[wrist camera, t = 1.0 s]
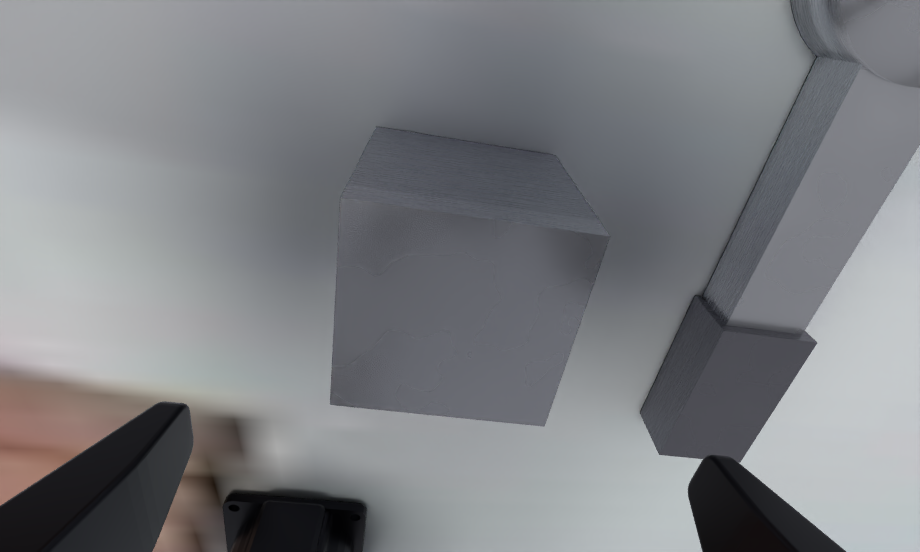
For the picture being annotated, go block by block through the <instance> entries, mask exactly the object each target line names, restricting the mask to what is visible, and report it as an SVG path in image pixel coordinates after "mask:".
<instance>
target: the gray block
mask: <svg viewBox="0 0 920 552" xmlns="http://www.w3.org/2000/svg"><path fill="white" fill-rule="evenodd" d="M609 238H610V236H609V234H608V233H607V231H606V230H605V228H604V227H603V225H602V224H601V222H600V221H599V219H598V218H597V216H596V215H595V213H594V212H593V210H592V209H591V207H590V206H589V205H588V203H587V202H586V200H585V199H584V197H583V196H582V194H581V193H580V191H579V190H578V188H577V187H576V185H575V184H574V182H573V181H572V179H571V178H570V176H569V175H568V173H567V172H566V171H565V169H564V168H563V166H562V165H561V163H560V162H559V160H558V159H557V157H556V156H555V155H551V154H545V153H539V152H533V151H526V150H520V149H514V148H508V147H501V146H495V145H489V144H483V143H476V142H470V141H464V140H457V139H451V138H445V137H439V136H432V135H426V134H420V133H414V132H407V131H401V130H395V129H389V128H382V127H376V128H375V130H374V132H373V134H372V136H371V138H370V140H369V142H368V144H367V146H366V148H365V150H364V152H363V154H362V156H361V158H360V160H359V162H358V164H357V166H356V168H355V170H354V172H353V174H352V176H351V178H350V180H349V182H348V184H347V186H346V187H345V189H344V191H343V193H342V195H341V197H340V215H339V235H338V255H337V275H336V295H335V314H334V334H333V354H332V374H331V394H330V405H337V406H347V407H357V408H367V409H377V410H387V411H397V412H407V413H417V414H427V415H437V416H446V417H456V418H466V419H476V420H486V421H496V422H506V423H516V424H526V425H536V426H545V423H546V420H547V418H548V415H549V412H550V409H551V406H552V403H553V400H554V397H555V394H556V392H557V389H558V386H559V383H560V380H561V377H562V374H563V371H564V368H565V366H566V363H567V360H568V357H569V354H570V351H571V348H572V345H573V342H574V339H575V337H576V334H577V331H578V328H579V325H580V322H581V319H582V316H583V313H584V311H585V308H586V305H587V302H588V299H589V296H590V293H591V290H592V287H593V284H594V282H595V279H596V276H597V273H598V270H599V267H600V264H601V261H602V258H603V256H604V253H605V250H606V247H607V244H608V241H609Z"/></svg>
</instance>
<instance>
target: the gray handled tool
mask: <svg viewBox="0 0 920 552" xmlns="http://www.w3.org/2000/svg"><path fill="white" fill-rule="evenodd" d="M791 5H792V10H793V14H794V18H795V22H796V24H797V27H798V29H799V31H800V34H801V36H802V38H803V39H804V41H805V42H806V44H807V46H808V47H809V48H810V50H811V51H812V52H813V53H814V54H815V55H816V56H817V58H816V60H815V62H814V64H813V66H812V69H811V71H810V73H809V75H808V77H807V79H806V81H805V83H804V85H803V87H802V89H801V92H800V94H799V96H798V98H797V100H796V102H795V104H794V106H793V108H792V110H791V113H790V115H789V117H788V119H787V121H786V123H785V125H784V127H783V129H782V131H781V133H780V136H779V138H778V140H777V142H776V144H775V146H774V148H773V150H772V152H771V154H770V157H769V159H768V161H767V163H766V165H765V167H764V169H763V171H762V173H761V175H760V177H759V180H758V182H757V184H756V186H755V188H754V190H753V192H752V194H751V196H750V198H749V200H748V203H747V205H746V207H745V209H744V211H743V213H742V215H741V217H740V219H739V221H738V224H737V226H736V228H735V230H734V232H733V234H732V236H731V238H730V240H729V242H728V244H727V247H726V249H725V251H724V253H723V255H722V257H721V259H720V261H719V263H718V265H717V268H716V270H715V272H714V274H713V276H712V278H711V280H710V282H709V284H708V286H707V288H706V291H705V293H704V295H703V297H701V296H695V297H694V299H693V301H692V303H691V305H690V307H689V310H688V312H687V314H686V316H685V318H684V320H683V322H682V325H681V327H680V329H679V331H678V333H677V335H676V337H675V339H674V342H673V344H672V346H671V348H670V350H669V352H668V354H667V357H666V359H665V361H664V363H663V365H662V367H661V369H660V372H659V374H658V376H657V378H656V380H655V382H654V384H653V387H652V389H651V391H650V393H649V395H648V397H647V399H646V401H645V404H644V406H643V408H642V410H641V412H640V414H641V417H642V419H643V421H644V423H645V425H646V427H647V429H648V432H649V434H650V436H651V438H652V440H653V442H654V445H655V447H656V449H657V451H658V453H659V455H668V456H678V457H688V458H698V459H704V458H705V457H706V456H708V455H720V456H728V457H731V458H733V459H734V460H736V461H737V462H741V460H742V459H743V457H744V456H745V454H746V452H747V451H748V449H749V448H750V446H751V445H752V443H753V442H754V440H755V439H756V437H757V435H758V434H759V432H760V431H761V429H762V428H763V426H764V425H765V423H766V421H767V420H768V418H769V417H770V415H771V414H772V412H773V411H774V409H775V408H776V406H777V404H778V403H779V401H780V400H781V398H782V397H783V395H784V394H785V392H786V391H787V389H788V387H789V386H790V384H791V383H792V381H793V380H794V378H795V377H796V375H797V373H798V372H799V370H800V369H801V367H802V366H803V364H804V363H805V361H806V360H807V358H808V356H809V355H810V353H811V352H812V350H813V349H814V347H815V346H816V344H817V342H816V341H815V340H814V339H813V338H812V337H811V336H810V335H809V334H808V333H807V332H805V331H804V330H805V329H806V327H807V326H808V324H809V322H810V321H811V319H812V318H813V316H814V314H815V313H816V311H817V309H818V308H819V306H820V305H821V303H822V301H823V300H824V298H825V297H826V295H827V293H828V292H829V290H830V288H831V287H832V285H833V284H834V282H835V280H836V279H837V277H838V276H839V274H840V272H841V271H842V269H843V268H844V266H845V264H846V263H847V261H848V259H849V258H850V256H851V255H852V253H853V251H854V250H855V248H856V247H857V245H858V243H859V242H860V240H861V239H862V237H863V235H864V234H865V232H866V230H867V229H868V227H869V226H870V224H871V222H872V221H873V219H874V218H875V216H876V214H877V213H878V211H879V209H880V208H881V206H882V205H883V203H884V201H885V200H886V198H887V197H888V195H889V193H890V192H891V190H892V189H893V187H894V185H895V184H896V182H897V180H898V179H899V177H900V176H901V174H902V172H903V171H904V169H905V168H906V166H907V164H908V163H909V161H910V160H911V158H912V156H913V155H914V153H915V151H916V150H917V148H918V147H919V145H920V0H791Z"/></svg>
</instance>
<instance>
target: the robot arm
mask: <svg viewBox="0 0 920 552" xmlns="http://www.w3.org/2000/svg"><path fill="white" fill-rule="evenodd" d="M192 448H193V431H192V424H191V416H190V410H189V407H188V406H187V405H186V404H184V403H175V402H159V403H157V404H155V405H153V406H152V407H150V408H149V409H147V410H146V411H144V412H143V413H141V414H140V415H138V416H137V417H135V418H134V419H132V420H131V421H129V422H127V423H126V424H124V425H123V426H121V427H120V428H118V429H117V430H115V431H114V432H112V433H111V434H109V435H108V436H106V437H105V438H103V439H101V440H100V441H98V442H97V443H95V444H94V445H92V446H91V447H89V448H88V449H86V450H85V451H83V452H82V453H80V454H79V455H77V456H76V457H74V458H72V459H71V460H69V461H68V462H66V463H65V464H63V465H62V466H60V467H59V468H57V469H56V470H54V471H53V472H51V473H50V474H48V475H46V476H45V477H43V478H42V479H40V480H39V481H37V482H36V483H34V484H33V485H31V486H30V487H28V488H27V489H25V490H24V491H22V492H20V493H19V494H17V495H16V496H14V497H13V498H11V499H10V500H8V501H7V502H5V503H4V504H2V505H1V506H0V552H152V551H153V549H154V547H155V544H156V542H157V539H158V537H159V535H160V532H161V530H162V527H163V524H164V522H165V519H166V517H167V514H168V512H169V509H170V506H171V504H172V501H173V499H174V496H175V494H176V491H177V488H178V486H179V483H180V481H181V478H182V475H183V473H184V470H185V468H186V465H187V463H188V460H189V457H190V455H191V452H192ZM688 497H689V501H690V505H691V509H692V513H693V517H694V521H695V524H696V528H697V532H698V536H699V540H700V544H701V548H702V551H703V552H846V551H845V550H844V549H842V548H841V547H840V546H839V545H838V544H836V543H835V542H834V541H833V540H831V539H830V538H829V537H828V536H827V535H825V534H824V533H823V532H822V531H821V530H819V529H818V528H817V527H816V526H815V525H813V524H812V523H811V522H810V521H808V520H807V519H806V518H805V517H804V516H802V515H801V514H800V513H799V512H798V511H796V510H795V509H794V508H793V507H791V506H790V505H789V504H788V503H787V502H785V501H784V500H783V499H782V498H781V497H779V496H778V495H777V494H776V493H774V492H773V491H772V490H771V489H770V488H768V487H767V486H766V485H765V484H764V483H762V482H761V481H760V480H759V479H757V478H756V477H755V476H754V475H753V474H751V473H750V472H749V471H748V470H747V469H745V468H744V467H743V466H742V465H741V464H739V463H738V462H737V461H736V460H734V459H733V458H731V457H728V456H720V455H708V456H706V457H705V458H704V459H703V460H702V462H701V464H700V465H699V467H698V469H697V471H696V472H695V474H694V476H693V477H692V479H691V481H690V483H689V486H688ZM223 514H224V523H225V533H226V542H227V551H228V552H362V549H363V541H364V532H365V523H366V515H367V508H366V507H365V506H364V505H362V504H358V503H348V502H336V501H324V500H311V499H299V498H287V497H274V496H262V495H250V494H237V493H236V494H230V495H228V496H227V497H226V500H225V502H224V504H223Z"/></svg>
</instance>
